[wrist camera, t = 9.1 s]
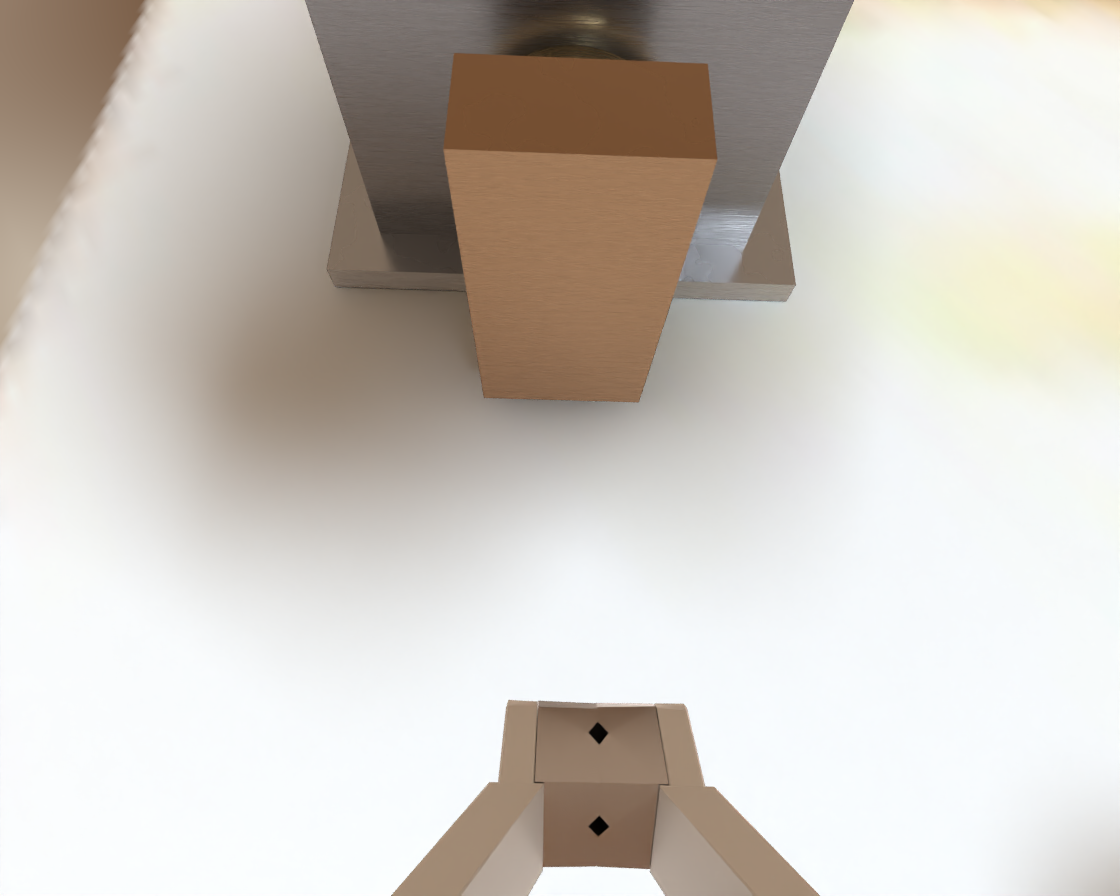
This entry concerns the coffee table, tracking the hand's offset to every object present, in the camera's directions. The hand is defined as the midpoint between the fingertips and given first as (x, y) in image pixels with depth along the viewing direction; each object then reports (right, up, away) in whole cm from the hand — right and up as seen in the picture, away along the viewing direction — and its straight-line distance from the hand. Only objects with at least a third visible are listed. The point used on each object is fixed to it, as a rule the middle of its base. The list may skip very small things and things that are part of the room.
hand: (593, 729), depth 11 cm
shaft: (0, +16, +18) cm, 25 cm away
